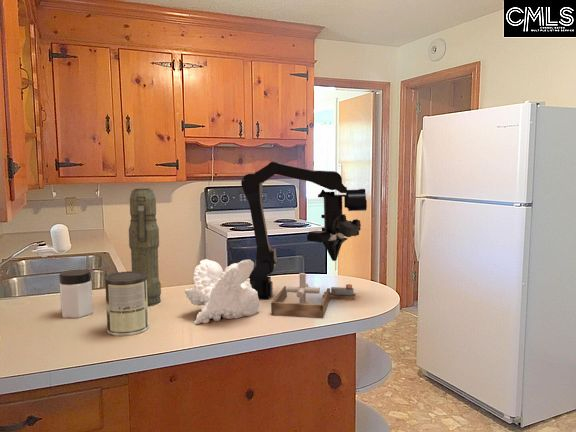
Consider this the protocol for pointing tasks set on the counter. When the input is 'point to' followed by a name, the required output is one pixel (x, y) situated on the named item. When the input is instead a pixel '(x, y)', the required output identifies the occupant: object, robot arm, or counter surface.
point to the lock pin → (343, 291)
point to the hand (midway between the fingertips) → (334, 260)
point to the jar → (76, 293)
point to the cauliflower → (223, 291)
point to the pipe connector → (302, 289)
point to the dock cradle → (303, 305)
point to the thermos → (145, 240)
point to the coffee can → (126, 303)
